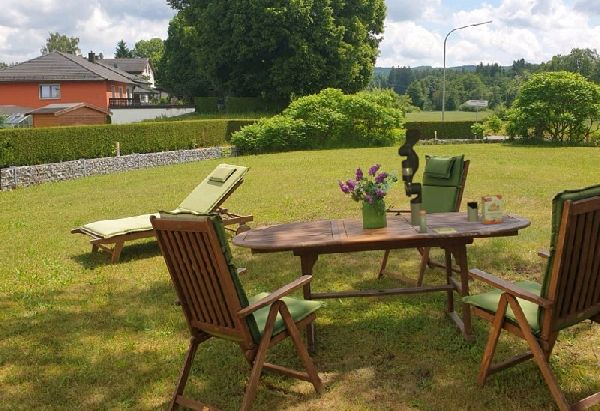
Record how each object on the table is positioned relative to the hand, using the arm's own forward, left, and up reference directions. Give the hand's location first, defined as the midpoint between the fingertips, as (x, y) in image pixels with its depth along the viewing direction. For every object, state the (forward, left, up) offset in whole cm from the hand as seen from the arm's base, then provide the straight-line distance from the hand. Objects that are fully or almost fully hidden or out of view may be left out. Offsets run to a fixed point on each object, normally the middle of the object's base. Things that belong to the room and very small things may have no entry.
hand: (408, 196), depth 430 cm
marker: (+8, +8, -26) cm, 29 cm away
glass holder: (-29, +57, -27) cm, 69 cm away
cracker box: (-12, +64, -27) cm, 70 cm away
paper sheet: (+8, +23, -26) cm, 36 cm away
